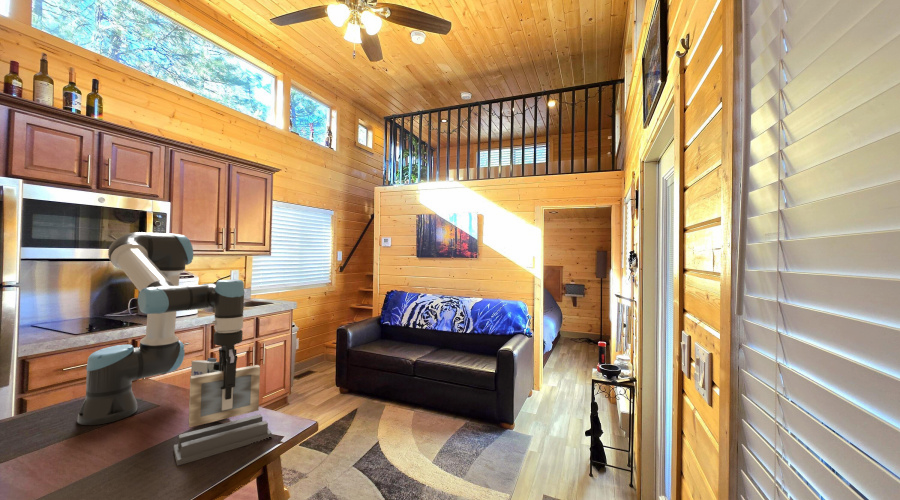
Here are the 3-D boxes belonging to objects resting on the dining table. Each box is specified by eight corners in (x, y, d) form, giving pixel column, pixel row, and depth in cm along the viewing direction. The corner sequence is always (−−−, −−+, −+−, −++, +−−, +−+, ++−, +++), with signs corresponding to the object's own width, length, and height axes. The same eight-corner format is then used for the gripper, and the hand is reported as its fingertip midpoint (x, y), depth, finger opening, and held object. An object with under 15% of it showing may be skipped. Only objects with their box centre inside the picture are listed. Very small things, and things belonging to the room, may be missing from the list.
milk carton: (189, 417, 126) (191, 360, 126) (206, 409, 132) (208, 355, 133) (205, 420, 124) (207, 362, 124) (222, 411, 131) (224, 357, 131)
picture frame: (256, 407, 117) (258, 364, 117) (258, 410, 115) (260, 366, 115) (188, 424, 105) (190, 376, 105) (189, 427, 103) (191, 378, 103)
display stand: (262, 425, 122) (263, 412, 122) (271, 437, 114) (272, 423, 114) (173, 450, 105) (174, 434, 106) (177, 465, 98) (177, 449, 98)
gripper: (209, 327, 113) (206, 401, 113) (219, 336, 102) (216, 420, 102) (236, 324, 118) (234, 396, 118) (248, 333, 107) (245, 412, 107)
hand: (225, 406), depth 110 cm, fingers closed on picture frame, 3 cm apart
